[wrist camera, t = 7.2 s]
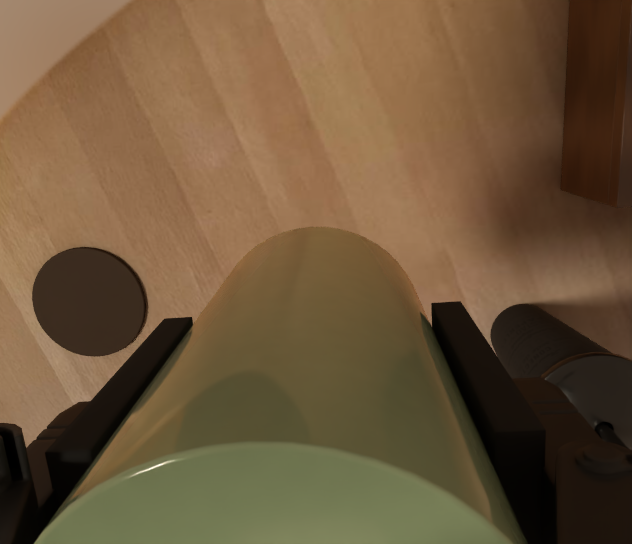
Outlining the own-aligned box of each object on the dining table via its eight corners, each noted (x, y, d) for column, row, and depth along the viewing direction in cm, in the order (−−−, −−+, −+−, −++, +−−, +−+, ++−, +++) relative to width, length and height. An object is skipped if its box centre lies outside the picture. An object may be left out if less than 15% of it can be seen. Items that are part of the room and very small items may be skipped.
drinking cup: (475, 285, 44) (577, 410, 25) (576, 286, 44) (758, 414, 25) (468, 377, 46) (559, 558, 27) (565, 378, 46) (727, 564, 27)
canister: (204, 233, 17) (-70, 459, 6) (418, 219, 17) (587, 429, 5) (228, 424, 19) (51, 903, 7) (424, 415, 19) (564, 905, 7)
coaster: (25, 249, 45) (22, 251, 45) (137, 244, 45) (136, 245, 44) (45, 356, 48) (42, 358, 47) (152, 352, 47) (151, 354, 47)
